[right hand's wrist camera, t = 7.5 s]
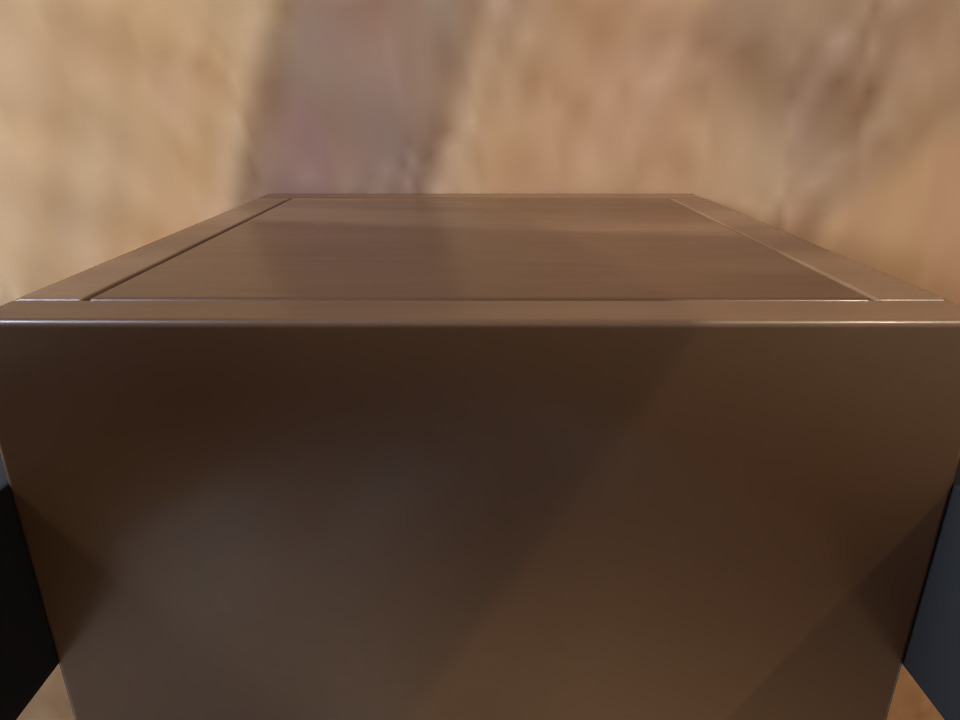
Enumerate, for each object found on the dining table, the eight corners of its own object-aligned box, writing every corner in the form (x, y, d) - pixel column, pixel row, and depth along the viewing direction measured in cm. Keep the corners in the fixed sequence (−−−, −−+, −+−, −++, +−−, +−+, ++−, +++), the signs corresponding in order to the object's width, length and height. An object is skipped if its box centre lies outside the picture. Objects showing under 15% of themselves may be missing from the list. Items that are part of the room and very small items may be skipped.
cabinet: (629, 785, 25) (734, 1263, 15) (331, 784, 25) (225, 1262, 15) (693, 193, 18) (1002, 321, 7) (266, 193, 18) (-42, 320, 7)
